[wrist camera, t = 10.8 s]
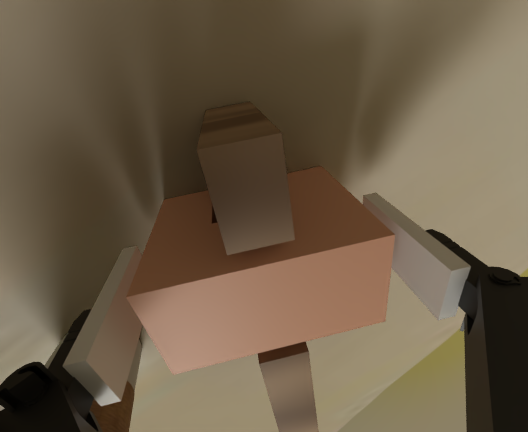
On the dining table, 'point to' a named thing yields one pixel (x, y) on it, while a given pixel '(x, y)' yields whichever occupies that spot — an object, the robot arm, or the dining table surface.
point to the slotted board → (257, 232)
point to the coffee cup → (116, 414)
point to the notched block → (261, 277)
